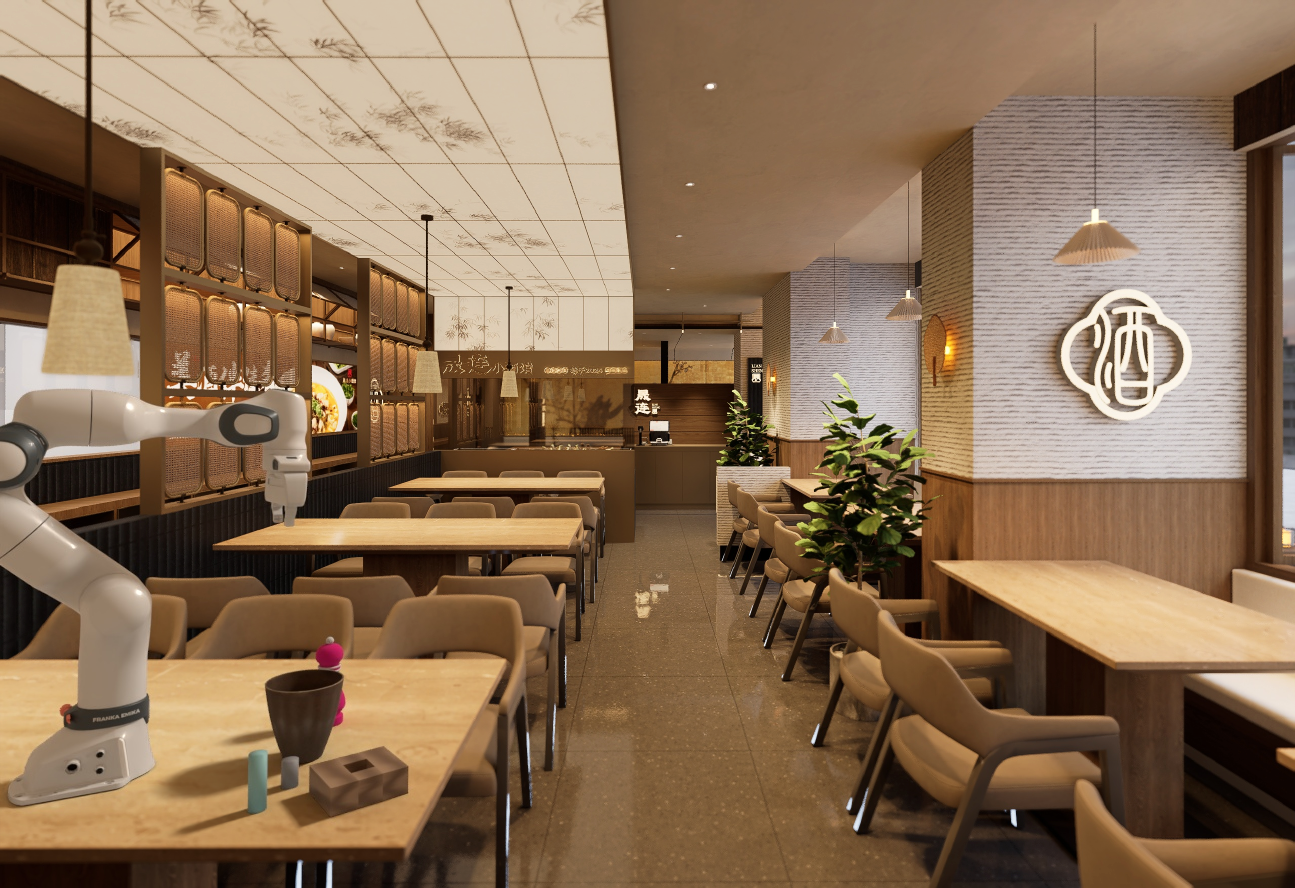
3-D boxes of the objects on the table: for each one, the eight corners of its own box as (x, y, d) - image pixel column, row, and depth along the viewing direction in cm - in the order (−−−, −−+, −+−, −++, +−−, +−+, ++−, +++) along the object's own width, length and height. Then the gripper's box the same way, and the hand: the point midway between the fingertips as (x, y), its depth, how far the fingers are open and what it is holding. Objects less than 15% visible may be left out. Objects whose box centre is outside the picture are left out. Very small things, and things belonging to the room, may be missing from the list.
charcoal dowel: (283, 791, 137) (283, 764, 137) (278, 785, 140) (279, 759, 140) (300, 786, 139) (300, 760, 139) (295, 780, 142) (296, 754, 142)
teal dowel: (249, 815, 128) (250, 758, 128) (245, 808, 130) (246, 752, 130) (268, 810, 130) (269, 753, 130) (264, 803, 132) (265, 748, 132)
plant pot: (354, 742, 160) (355, 669, 160) (324, 773, 145) (325, 692, 145) (285, 741, 160) (286, 668, 160) (248, 772, 145) (249, 691, 145)
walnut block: (330, 817, 128) (330, 788, 128) (309, 792, 137) (309, 765, 137) (408, 793, 137) (408, 766, 137) (383, 771, 146) (383, 745, 146)
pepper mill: (332, 730, 167) (334, 641, 167) (304, 727, 168) (305, 639, 168) (351, 718, 174) (353, 634, 174) (324, 715, 175) (325, 632, 175)
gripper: (258, 461, 169) (256, 521, 169) (281, 463, 154) (279, 529, 154) (287, 461, 174) (286, 519, 173) (312, 463, 158) (311, 527, 158)
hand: (283, 524), depth 163 cm, fingers open, 8 cm apart
